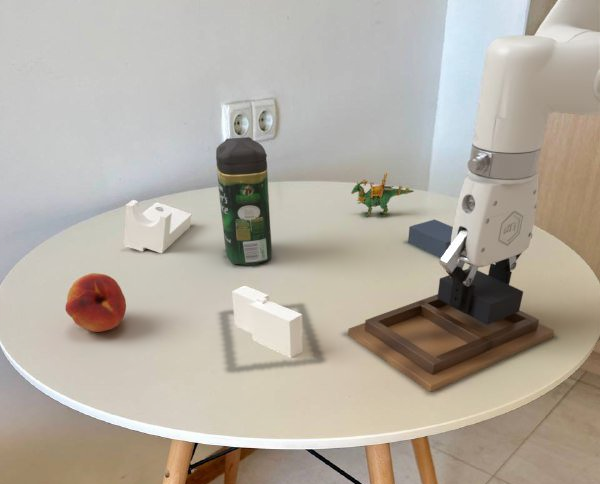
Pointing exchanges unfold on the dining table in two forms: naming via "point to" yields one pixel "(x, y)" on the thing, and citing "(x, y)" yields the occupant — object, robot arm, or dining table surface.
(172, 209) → the bracket
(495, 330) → the wooden tray
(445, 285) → the pad near
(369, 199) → the figurine
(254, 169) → the coffee jar
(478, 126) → the robot arm
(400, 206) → the dining table surface
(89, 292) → the fruit
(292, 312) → the white stepped block
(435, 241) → the pad front
